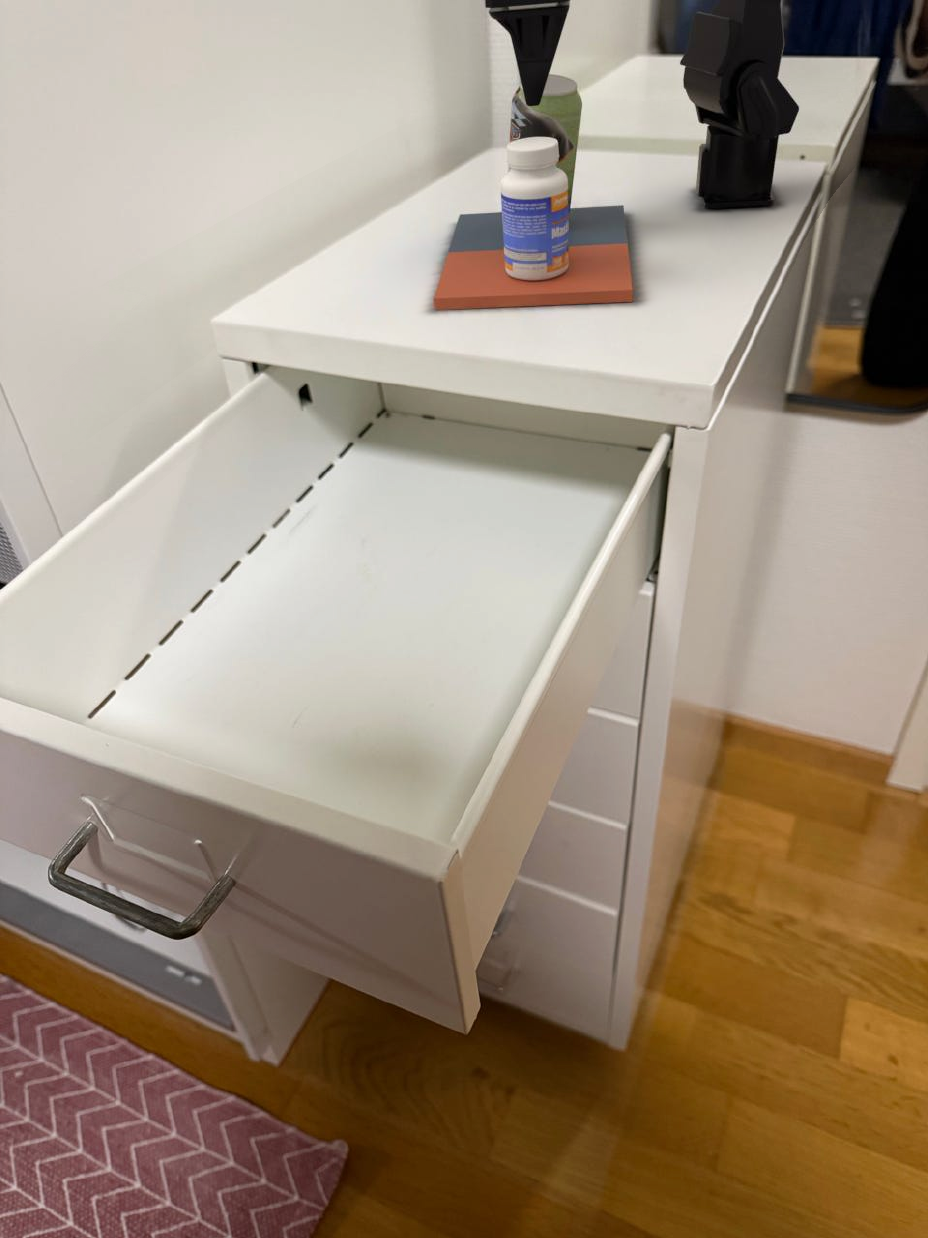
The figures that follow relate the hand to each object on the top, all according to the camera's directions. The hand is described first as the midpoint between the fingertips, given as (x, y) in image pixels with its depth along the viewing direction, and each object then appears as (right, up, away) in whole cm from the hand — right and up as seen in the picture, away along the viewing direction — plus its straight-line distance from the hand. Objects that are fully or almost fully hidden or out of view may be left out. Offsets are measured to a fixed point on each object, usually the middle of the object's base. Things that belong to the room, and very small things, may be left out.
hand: (535, 92), depth 75 cm
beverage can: (+1, -8, +8) cm, 11 cm away
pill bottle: (0, -16, -1) cm, 16 cm away
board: (0, -13, +4) cm, 13 cm away
